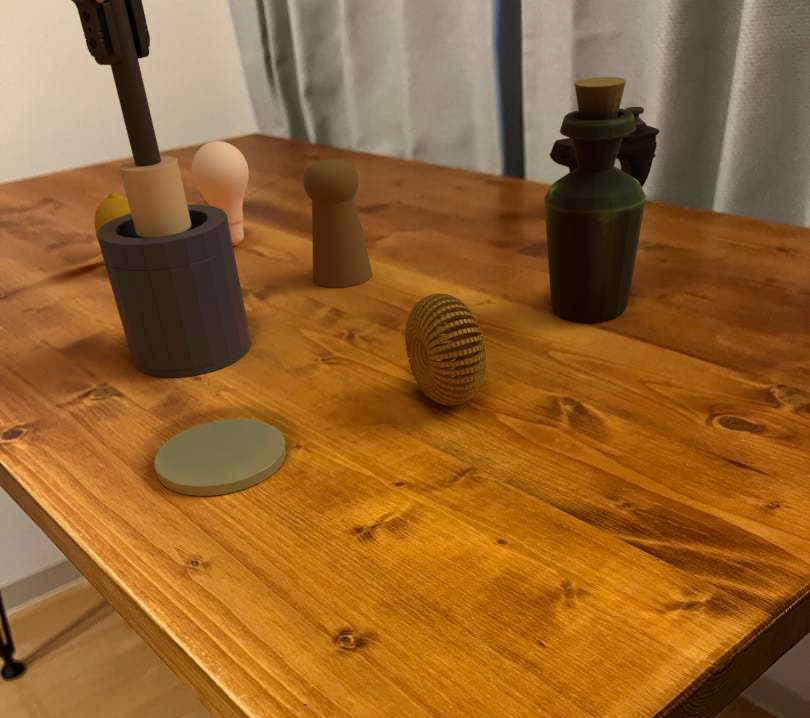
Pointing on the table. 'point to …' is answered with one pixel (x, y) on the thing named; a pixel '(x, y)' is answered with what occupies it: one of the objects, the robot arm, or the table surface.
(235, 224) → the lightbulb
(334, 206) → the cork
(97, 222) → the lemon
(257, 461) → the coaster
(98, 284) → the table surface
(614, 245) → the potion bottle
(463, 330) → the sculpture
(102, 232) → the jar
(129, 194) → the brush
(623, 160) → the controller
